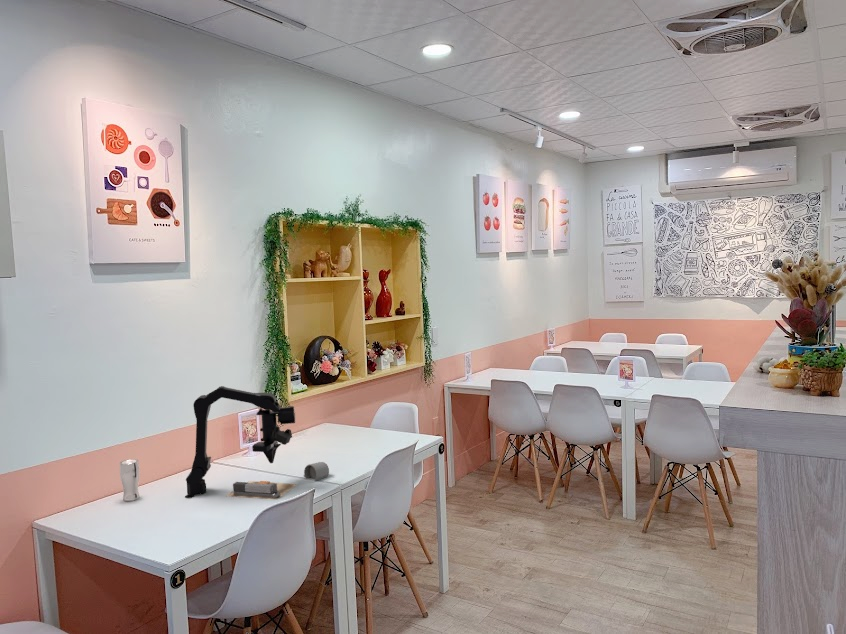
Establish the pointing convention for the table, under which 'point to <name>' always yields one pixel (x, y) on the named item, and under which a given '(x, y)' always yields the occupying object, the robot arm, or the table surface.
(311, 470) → the ceramic mug
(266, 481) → the tan rectangular block
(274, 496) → the tongs lower
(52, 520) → the table surface
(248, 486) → the tongs upper
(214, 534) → the table surface
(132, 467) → the beer glass
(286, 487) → the serving board
